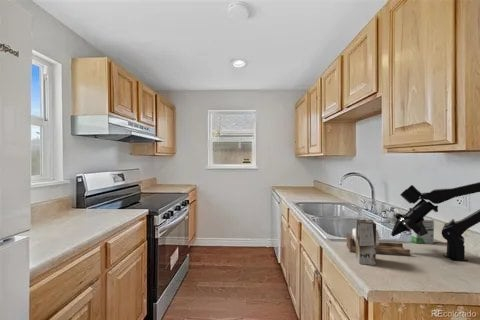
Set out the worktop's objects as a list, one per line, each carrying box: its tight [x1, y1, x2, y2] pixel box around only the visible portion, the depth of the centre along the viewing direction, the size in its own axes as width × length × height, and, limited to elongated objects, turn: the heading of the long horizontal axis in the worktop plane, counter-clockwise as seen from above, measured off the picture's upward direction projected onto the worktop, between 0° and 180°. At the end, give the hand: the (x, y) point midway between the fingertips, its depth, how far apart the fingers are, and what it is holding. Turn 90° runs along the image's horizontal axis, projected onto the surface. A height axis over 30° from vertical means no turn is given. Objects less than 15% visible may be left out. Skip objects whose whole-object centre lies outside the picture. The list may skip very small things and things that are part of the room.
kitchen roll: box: [351, 228, 380, 248], centre depth 140 cm, size 10×8×8 cm
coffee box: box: [355, 219, 377, 266], centre depth 125 cm, size 9×6×16 cm
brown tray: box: [346, 232, 411, 257], centre depth 139 cm, size 24×11×6 cm, turn 78°
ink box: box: [411, 217, 435, 245], centre depth 153 cm, size 9×5×12 cm, turn 88°
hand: (391, 235), depth 138 cm, fingers closed
